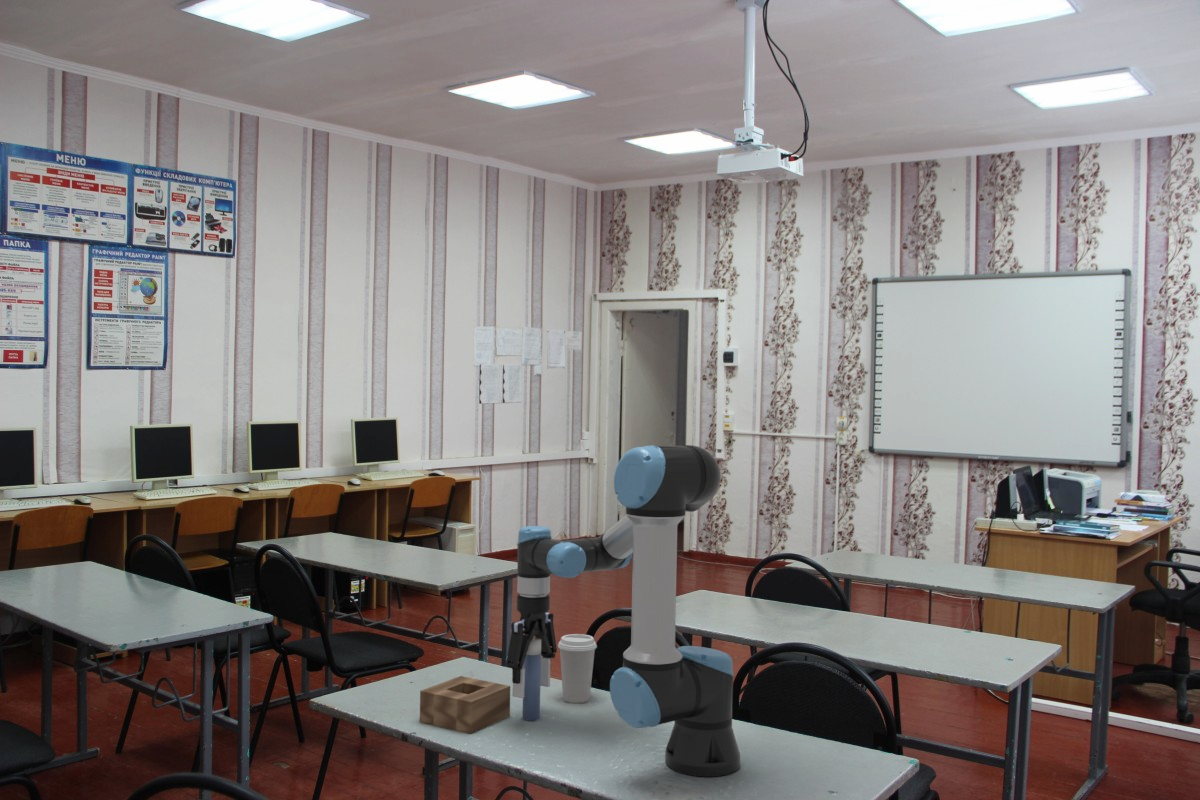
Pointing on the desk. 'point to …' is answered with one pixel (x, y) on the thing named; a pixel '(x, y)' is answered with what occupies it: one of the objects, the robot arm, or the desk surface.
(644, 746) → the desk surface
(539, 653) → the marker
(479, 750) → the desk surface
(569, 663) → the coffee cup
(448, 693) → the socket block
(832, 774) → the desk surface
